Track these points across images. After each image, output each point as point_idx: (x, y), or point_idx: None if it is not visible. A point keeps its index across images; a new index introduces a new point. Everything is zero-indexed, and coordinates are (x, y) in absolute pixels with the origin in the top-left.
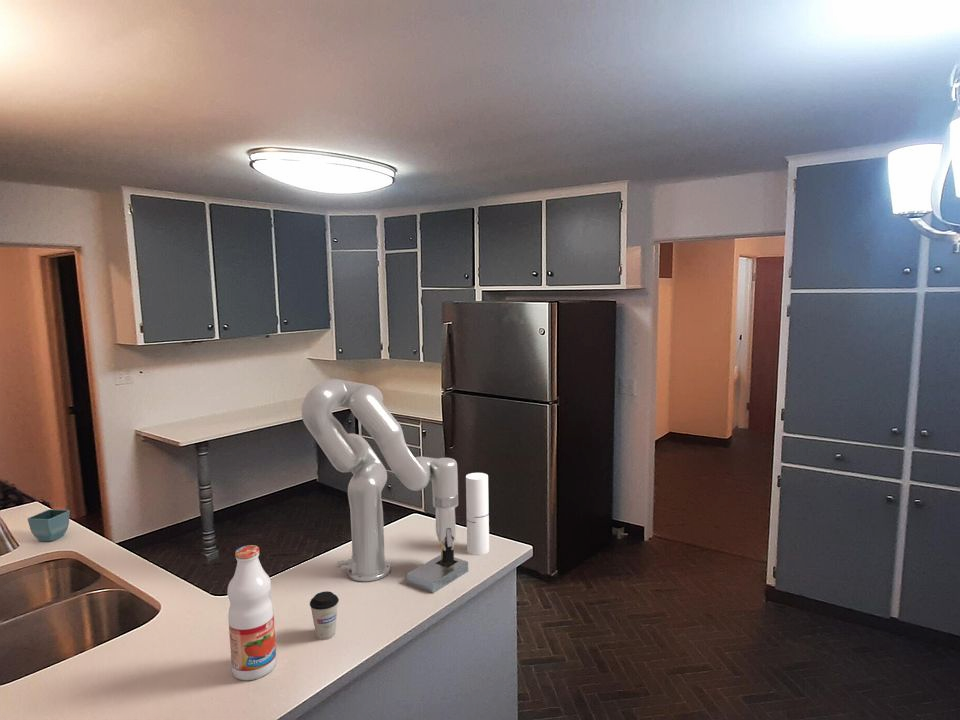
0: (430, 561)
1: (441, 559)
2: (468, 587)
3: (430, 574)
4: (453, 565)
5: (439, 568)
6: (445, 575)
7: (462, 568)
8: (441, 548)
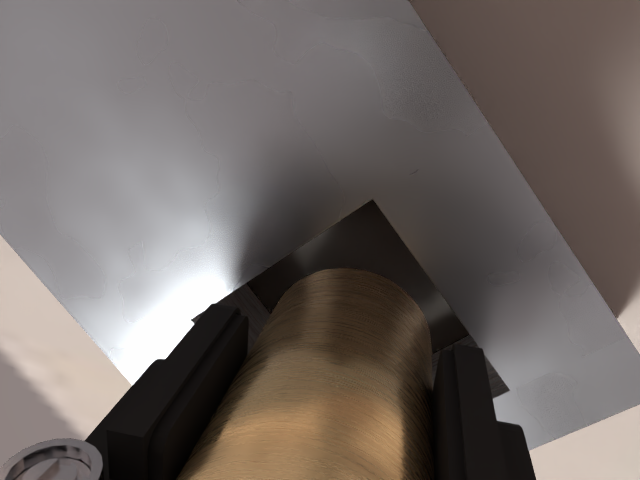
0: (465, 147)
1: (323, 311)
2: (22, 369)
3: (47, 48)
4: None
5: (195, 216)
6: (2, 234)
7: None
8: (256, 440)
